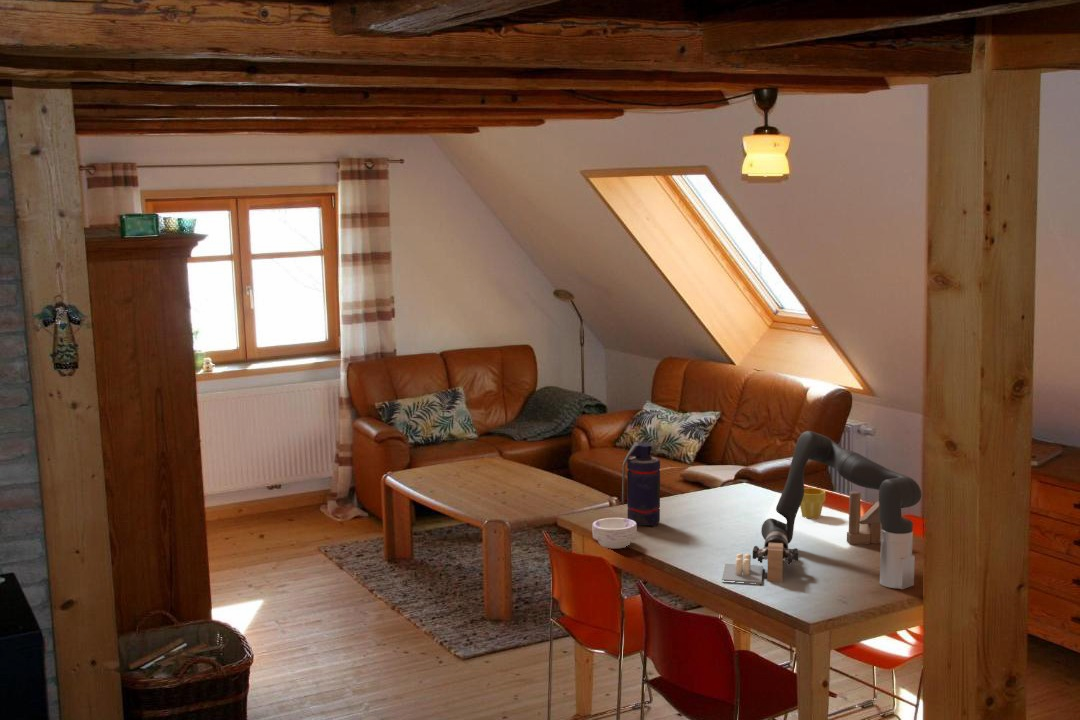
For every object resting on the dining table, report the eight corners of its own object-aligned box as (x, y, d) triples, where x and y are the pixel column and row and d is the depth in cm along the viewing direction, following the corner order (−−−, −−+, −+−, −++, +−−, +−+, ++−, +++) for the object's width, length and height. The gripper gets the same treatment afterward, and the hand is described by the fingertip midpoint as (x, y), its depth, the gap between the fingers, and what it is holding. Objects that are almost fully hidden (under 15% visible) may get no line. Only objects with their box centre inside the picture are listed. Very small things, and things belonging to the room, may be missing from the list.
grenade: (658, 519, 430) (658, 439, 426) (661, 528, 419) (661, 446, 415) (621, 519, 431) (621, 440, 427) (622, 528, 419) (622, 446, 415)
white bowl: (585, 541, 403) (585, 519, 402) (625, 536, 408) (625, 515, 407) (603, 554, 389) (603, 531, 388) (644, 548, 394) (644, 526, 393)
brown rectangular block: (768, 573, 368) (768, 542, 366) (782, 573, 367) (783, 543, 365) (767, 581, 360) (767, 549, 359) (782, 582, 359) (782, 550, 358)
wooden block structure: (880, 543, 397) (882, 492, 395) (850, 545, 396) (851, 493, 394) (876, 540, 401) (878, 490, 398) (846, 541, 400) (847, 491, 397)
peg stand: (725, 566, 374) (725, 548, 374) (763, 568, 372) (763, 550, 371) (722, 582, 359) (722, 563, 358) (761, 584, 356) (761, 566, 355)
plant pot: (791, 516, 433) (791, 490, 431) (807, 511, 440) (807, 486, 438) (814, 521, 425) (815, 495, 424) (830, 516, 432) (831, 490, 431)
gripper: (754, 533, 377) (752, 547, 362) (798, 535, 374) (798, 550, 358) (753, 555, 378) (751, 570, 363) (798, 558, 375) (798, 573, 359)
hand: (775, 560), depth 361 cm, fingers open, 8 cm apart
